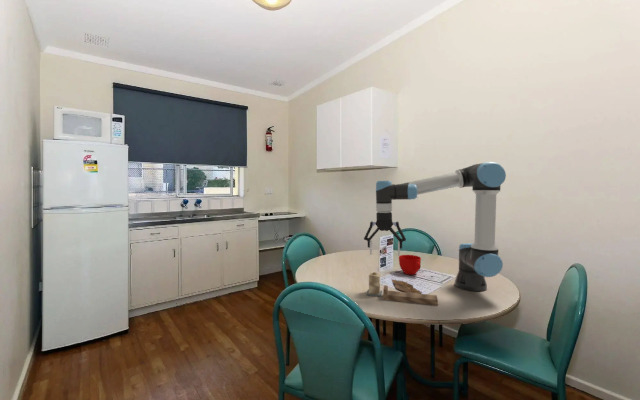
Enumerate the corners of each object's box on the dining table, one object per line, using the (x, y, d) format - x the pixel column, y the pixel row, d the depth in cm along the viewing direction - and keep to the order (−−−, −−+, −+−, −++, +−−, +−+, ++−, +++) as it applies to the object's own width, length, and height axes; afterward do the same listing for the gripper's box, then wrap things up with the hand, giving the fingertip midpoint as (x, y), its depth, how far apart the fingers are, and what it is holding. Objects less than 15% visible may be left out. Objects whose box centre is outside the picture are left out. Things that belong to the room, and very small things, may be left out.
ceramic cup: (409, 279, 166) (410, 262, 166) (394, 271, 183) (394, 255, 182) (429, 277, 170) (429, 260, 169) (412, 269, 186) (412, 254, 186)
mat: (382, 291, 147) (382, 290, 147) (380, 296, 140) (380, 295, 140) (368, 290, 149) (368, 289, 149) (366, 295, 142) (366, 294, 142)
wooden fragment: (425, 295, 142) (425, 293, 142) (404, 297, 140) (404, 295, 140) (403, 279, 167) (403, 277, 167) (385, 280, 166) (385, 278, 166)
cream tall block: (379, 291, 146) (380, 272, 146) (379, 294, 141) (379, 275, 141) (370, 290, 148) (370, 271, 147) (368, 293, 143) (368, 274, 142)
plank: (436, 300, 135) (436, 290, 135) (437, 305, 130) (437, 294, 129) (384, 294, 143) (384, 285, 142) (383, 299, 137) (383, 289, 137)
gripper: (410, 211, 142) (411, 253, 143) (360, 211, 150) (361, 251, 151) (410, 212, 135) (411, 257, 136) (357, 212, 143) (358, 255, 143)
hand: (384, 254), depth 143 cm, fingers open, 13 cm apart
